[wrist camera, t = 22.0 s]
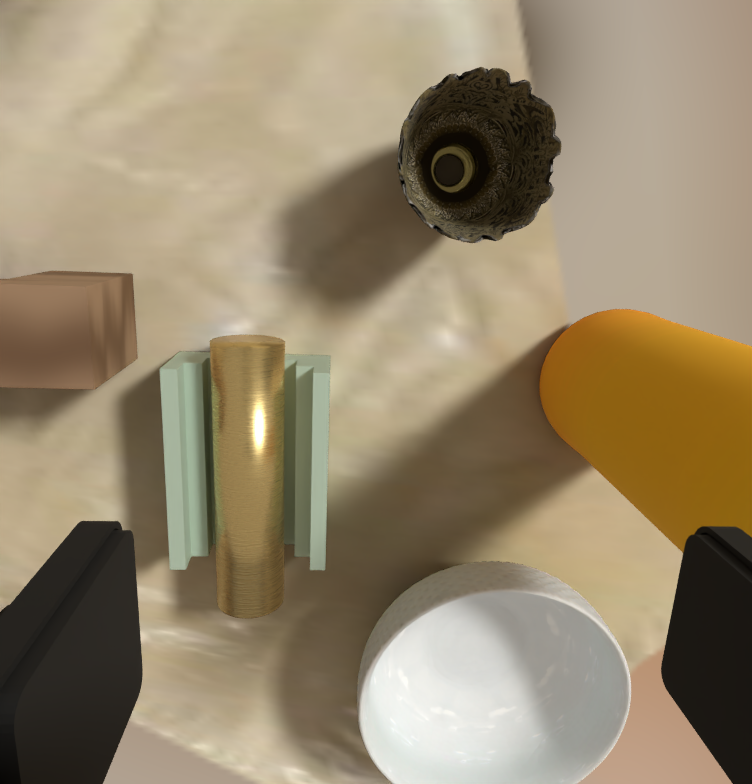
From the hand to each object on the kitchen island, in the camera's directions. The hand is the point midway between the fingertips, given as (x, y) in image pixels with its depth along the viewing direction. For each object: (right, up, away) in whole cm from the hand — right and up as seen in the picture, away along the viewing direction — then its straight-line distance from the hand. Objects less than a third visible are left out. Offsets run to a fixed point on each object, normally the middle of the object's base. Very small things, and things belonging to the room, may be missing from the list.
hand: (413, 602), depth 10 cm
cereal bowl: (+6, -14, +34) cm, 37 cm away
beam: (-22, +8, +26) cm, 35 cm away
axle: (-8, -1, +26) cm, 27 cm away
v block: (-8, 0, +29) cm, 30 cm away
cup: (+4, +16, +25) cm, 30 cm away
